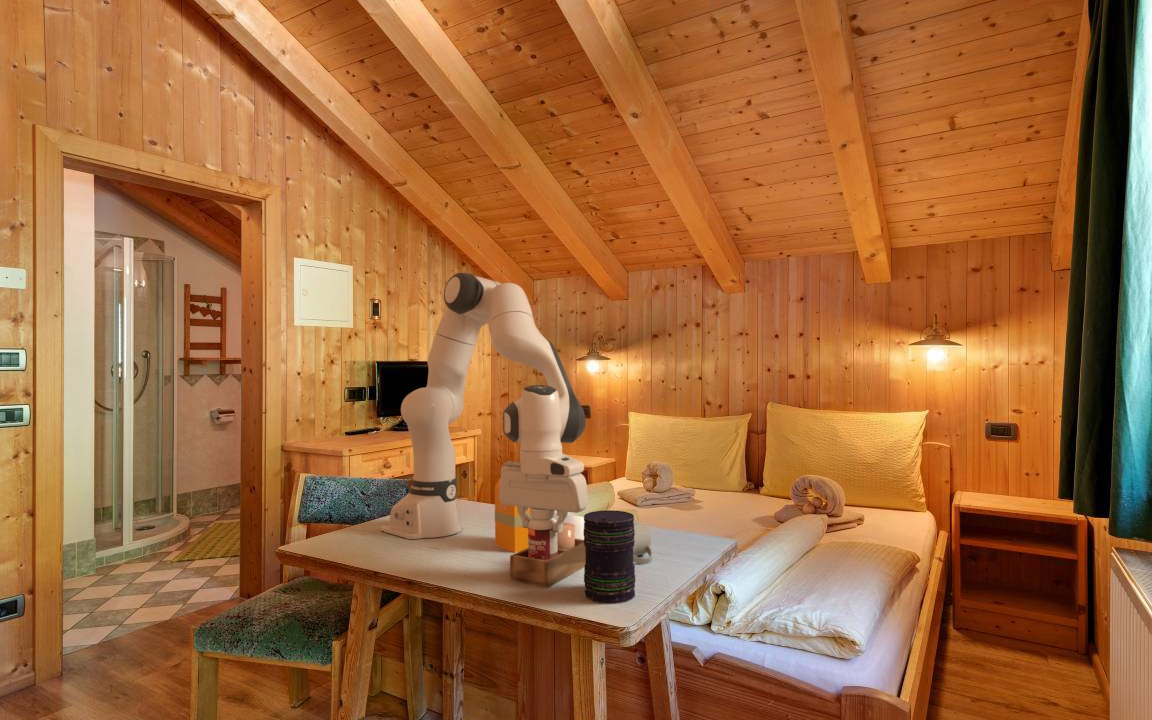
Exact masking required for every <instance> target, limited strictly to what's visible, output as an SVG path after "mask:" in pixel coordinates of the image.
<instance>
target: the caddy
mask: <svg viewBox="0 0 1152 720" xmlns="http://www.w3.org/2000/svg"><path fill="white" fill-rule="evenodd" d="M509 564H510V567H509V568H510V569H509V571H510V572H509V575H510V576H509V579H510V581H512V582H517V583H522V584H527V585H532V584H533V586H539V587H542V586H543V587H544V588H547V587H548V588H550V587H552V586H553V585H555V584H557V583H559V582H561V581H563V580H565V579H566V578H567V577H569V576H570V577H571V575H573V574H575V573H577V572H578V571H580V570H583V569H584V566H585V564H586V556H585V546H584V539H580V538H575V547H573V548H571V549H569V550H566V549H559V548H558V555H557V556H555V557H553V558H551V559H549V560H547V561H546V560H540V559H534V558H528V548H527V549H524V550H522V551H520V552H516V553H513V554H511V555H509ZM560 580H561V581H560ZM543 587H542V588H543Z"/></svg>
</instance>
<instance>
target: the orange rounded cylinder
mask: <svg viewBox="0 0 1152 720" xmlns="http://www.w3.org/2000/svg"><path fill="white" fill-rule="evenodd" d="M575 527H576V526H575V524H574V523H570V522H563V531H562V532H560V533H559V532H557V542H558V548H559V549H566V550H569V549H571V548H573V547H575V539H576V532H575V530H576V528H575Z"/></svg>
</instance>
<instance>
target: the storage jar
mask: <svg viewBox="0 0 1152 720" xmlns="http://www.w3.org/2000/svg"><path fill="white" fill-rule="evenodd" d="M583 521H584V523H583V540H584V546H585V556H586V564H585V566H584V568H583V569H584V574H583V582H584V588H585V589H584V597H585V598H586V599H588V600H589V601H590V602H591V601H592V602H595V603H597V604H606V605H609V604H610V605H614V604H615V605H616V604H622V603H627V602H629V601H631V600H633V599H634V598H635V597H636V591H635V587H636V586H635V585H636V584H635V583H636V574H635V573H636V568H635V567H636V566H635V564H634V561H633V546H634V542H635V540H634V536H635V530H634V523H633V521H635V515H634V514H632V513H631V512H628V511H621V510H610V509H609V510H607V509H606V510H597V511H596V510H594V511H590V512H588V513H585V514H583Z"/></svg>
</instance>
